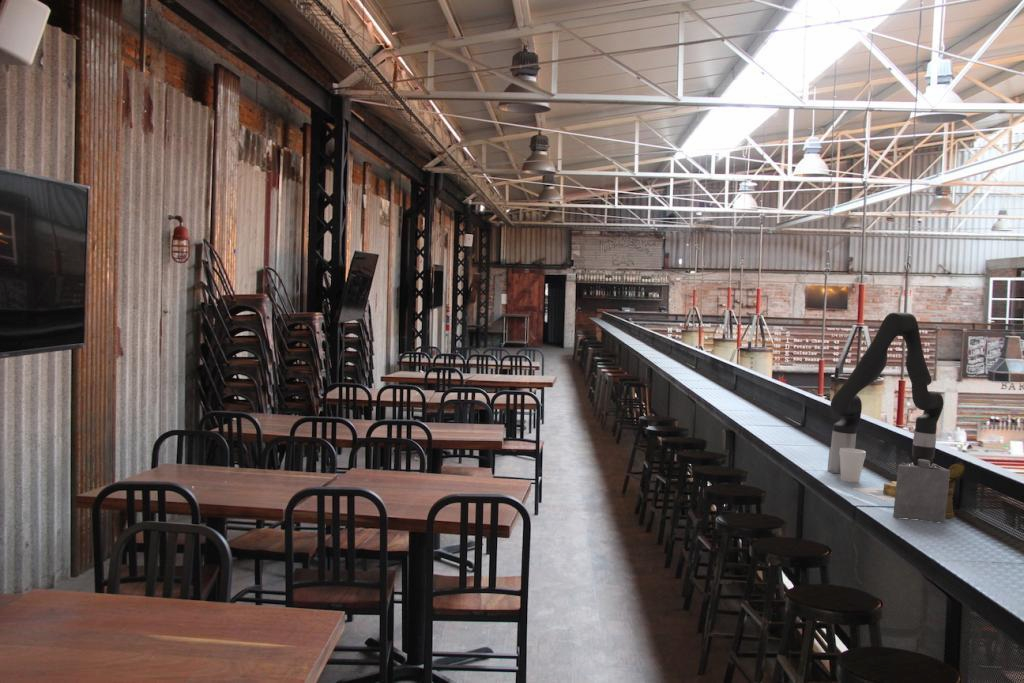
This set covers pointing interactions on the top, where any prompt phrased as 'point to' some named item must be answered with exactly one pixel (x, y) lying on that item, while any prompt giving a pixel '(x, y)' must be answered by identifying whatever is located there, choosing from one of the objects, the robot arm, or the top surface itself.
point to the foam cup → (851, 464)
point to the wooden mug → (953, 485)
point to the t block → (890, 488)
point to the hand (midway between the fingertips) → (919, 490)
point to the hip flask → (921, 492)
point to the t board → (876, 493)
